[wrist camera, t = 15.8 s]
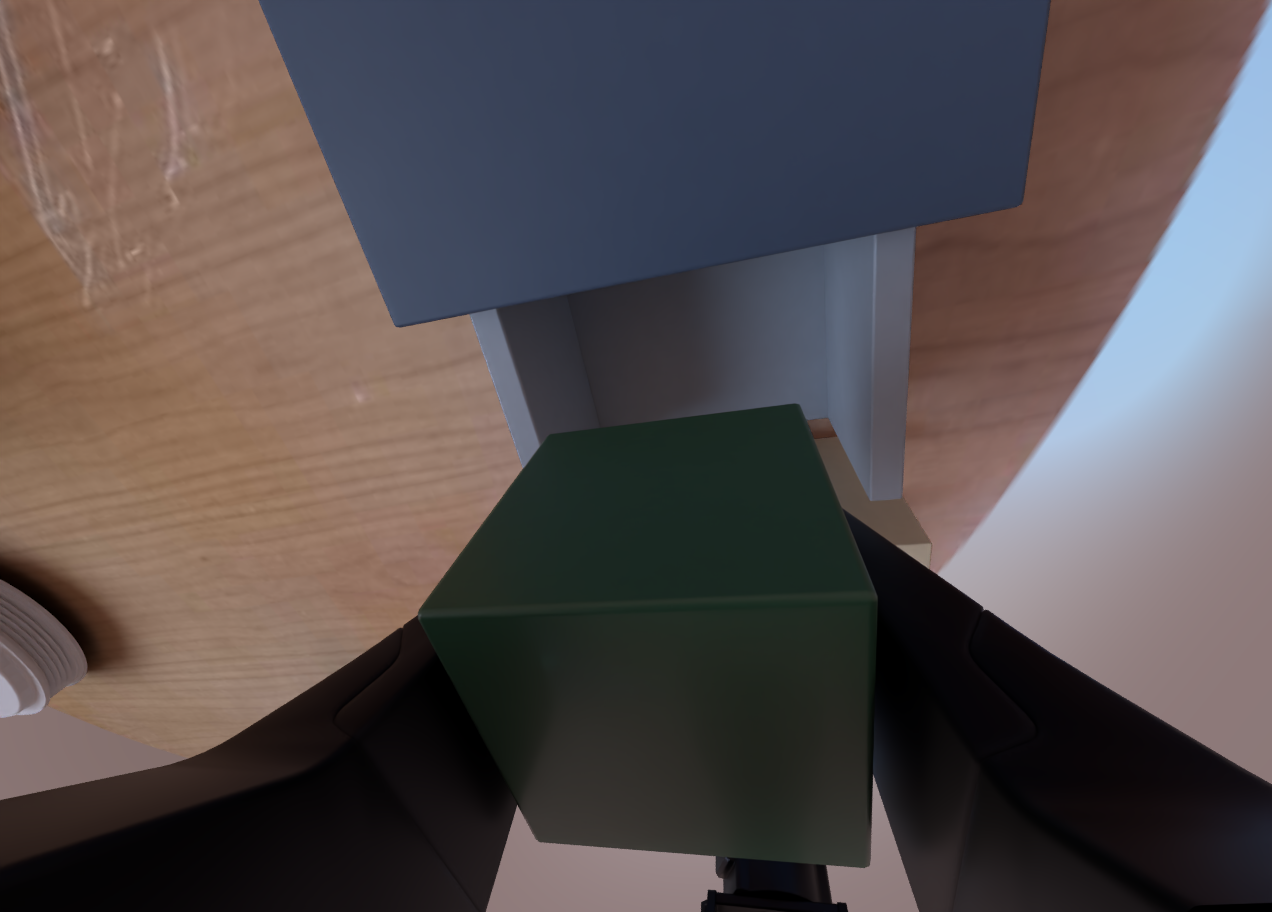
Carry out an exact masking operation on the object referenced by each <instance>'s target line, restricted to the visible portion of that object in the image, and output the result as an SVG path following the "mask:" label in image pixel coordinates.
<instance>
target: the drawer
mask: <svg viewBox="0 0 1272 912" xmlns="http://www.w3.org/2000/svg"><path fill="white" fill-rule="evenodd" d="M915 240H916V227H912V228H907V229H902V230H897V231H892V232H887V233H882V234H876V235H871V236H866V237H861V238H856V239H851V240H846V241H841V242H836V243H830V244H825V245H820V246H815V247H810V248H805V249H800V250H795V251H789V252H784V253H779V254H774V255H769V256H764V257H759V258H754V259H749V260H743V261H738V262H733V263H728V264H723V265H718V266H713V267H708V268H702V269H697V270H692V271H687V272H682V273H677V274H672V275H667V276H661V277H656V278H651V279H646V280H641V281H636V282H631V283H626V284H621V285H615V286H610V287H605V288H600V289H595V290H590V291H585V292H580V293H574V294H569V295H564V296H559V297H554V298H549V299H544V300H539V301H534V302H528V303H523V304H518V305H513V306H508V307H503V308H498V309H493V310H487V311H482V312H477V313H472V314H470V317H471V320H472V323H473V326H474V329H475V332H476V334H477V337H478V340H479V343H480V346H481V349H482V352H483V355H484V357H485V360H486V363H487V366H488V369H489V372H490V375H491V378H492V381H493V383H494V386H495V389H496V392H497V395H498V398H499V401H500V404H501V406H502V409H503V412H504V415H505V418H506V421H507V424H508V427H509V430H510V432H511V435H512V438H513V441H514V444H515V447H516V450H517V453H518V455H519V458H520V461H521V464H522V467H523V468H524V467H525V465H526V464H527V463H528V461H529V460H530V459H531V457H532V456H533V454H534V453H535V452H536V450H537V449H538V448H539V446H540V445H541V444H542V442H543V441H544V440H545V438H546V437H547V436H548V435H550V434H555V433H563V432H571V431H579V430H587V429H595V428H603V427H611V426H619V425H627V424H635V423H643V422H651V421H658V420H666V419H674V418H682V417H690V416H698V415H706V414H714V413H722V412H730V411H738V410H746V409H754V408H761V407H769V406H777V405H785V404H793V403H796V404H800V406H801V408H802V411H803V413H804V415H805V418H806V420H814V419H823V418H829V420H830V422H831V424H832V426H833V428H834V430H835V432H836V434H837V436H838V437H829V438H820V439H814V440H815V443H816V445H817V448H818V450H819V453H820V455H821V458H822V460H823V463H824V465H825V467H826V470H827V472H828V475H829V477H830V480H831V482H832V485H833V487H834V490H835V492H836V495H837V497H838V500H839V502H840V505H841V507H842V508H843V509H844V510H846V511H847V512H849V513H850V514H852V515H853V516H854V517H856V518H857V519H859V520H860V521H862V522H863V523H864V524H866V525H867V526H869V527H870V528H871V529H873V530H874V531H876V532H877V533H879V534H880V535H881V536H883V537H884V538H886V539H887V540H889V541H890V542H891V543H893V544H894V545H896V546H897V547H899V548H900V549H901V550H903V551H904V552H906V553H907V554H909V555H910V556H911V557H913V558H914V559H916V560H917V561H918V562H920V563H921V564H923V565H924V566H926V567H927V568H928V569H930V560H931V549H932V543H931V541H930V540H929V538H928V536H927V535H926V533H925V532H924V530H923V528H922V527H921V525H920V524H919V522H918V520H917V519H916V517H915V515H914V514H913V512H912V511H911V509H910V507H909V506H908V504H907V503H906V501H905V499H904V498H903V496H902V493H903V473H904V454H905V434H906V415H907V396H908V376H909V357H910V337H911V318H912V299H913V279H914V260H915Z"/></svg>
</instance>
